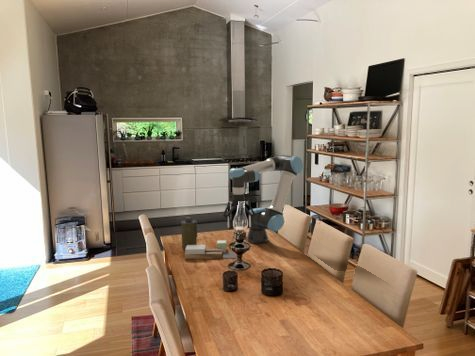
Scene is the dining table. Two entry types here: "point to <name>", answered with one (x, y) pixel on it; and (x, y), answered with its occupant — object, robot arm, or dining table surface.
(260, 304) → the dining table surface
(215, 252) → the runners
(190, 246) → the slab
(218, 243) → the stop block
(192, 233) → the canister
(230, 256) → the pad
